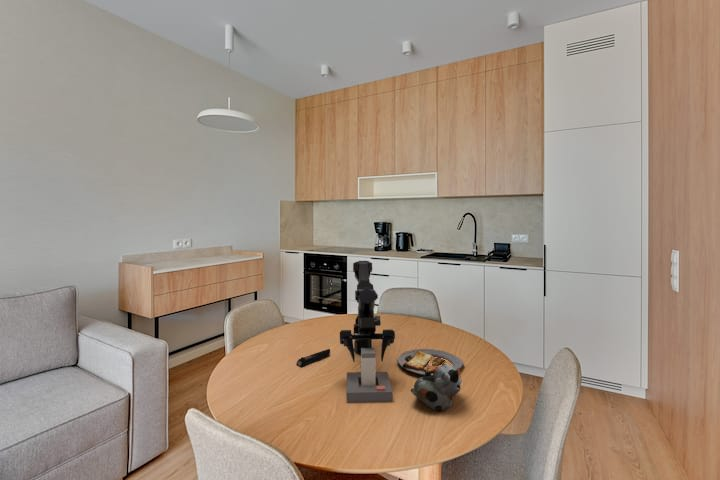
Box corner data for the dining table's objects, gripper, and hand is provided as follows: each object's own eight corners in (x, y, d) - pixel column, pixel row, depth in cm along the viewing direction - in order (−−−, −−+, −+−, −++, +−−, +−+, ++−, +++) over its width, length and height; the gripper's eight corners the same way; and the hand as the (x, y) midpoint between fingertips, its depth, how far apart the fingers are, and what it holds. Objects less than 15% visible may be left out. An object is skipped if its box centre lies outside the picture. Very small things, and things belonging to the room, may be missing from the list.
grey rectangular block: (361, 385, 113) (361, 348, 113) (374, 384, 113) (374, 348, 113) (361, 391, 109) (361, 353, 108) (375, 391, 109) (375, 353, 108)
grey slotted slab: (346, 380, 118) (346, 370, 118) (387, 380, 119) (387, 369, 118) (346, 402, 104) (346, 390, 104) (392, 401, 105) (392, 390, 104)
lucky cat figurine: (419, 386, 114) (440, 350, 114) (451, 411, 108) (473, 373, 107) (403, 392, 101) (426, 352, 101) (438, 421, 95) (462, 378, 95)
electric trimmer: (332, 357, 139) (332, 349, 139) (301, 368, 128) (301, 360, 128) (326, 354, 142) (326, 347, 142) (295, 365, 131) (295, 357, 131)
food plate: (449, 386, 114) (449, 376, 113) (387, 371, 126) (387, 361, 126) (469, 362, 135) (469, 353, 135) (414, 351, 147) (414, 342, 147)
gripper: (339, 307, 116) (339, 351, 105) (394, 306, 116) (399, 350, 106) (340, 322, 124) (339, 365, 114) (391, 322, 125) (395, 364, 114)
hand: (368, 361), depth 112 cm, fingers open, 9 cm apart
